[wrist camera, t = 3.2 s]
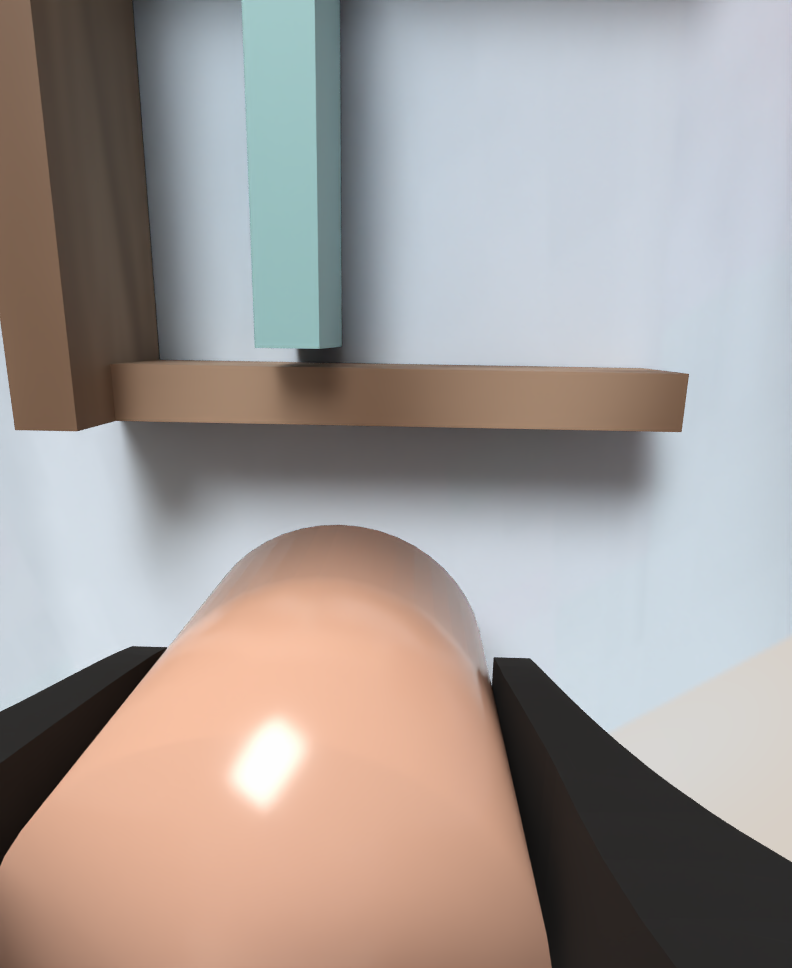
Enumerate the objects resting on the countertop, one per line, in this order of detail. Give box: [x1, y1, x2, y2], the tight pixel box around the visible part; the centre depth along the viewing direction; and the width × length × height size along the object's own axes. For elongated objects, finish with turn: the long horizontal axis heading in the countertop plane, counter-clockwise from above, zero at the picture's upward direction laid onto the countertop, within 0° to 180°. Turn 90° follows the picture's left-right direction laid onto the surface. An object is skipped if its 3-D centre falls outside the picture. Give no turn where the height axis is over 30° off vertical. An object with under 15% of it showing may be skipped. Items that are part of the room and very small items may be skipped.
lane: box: [0, 0, 689, 432], centre depth 12 cm, size 13×12×4 cm
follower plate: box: [242, 0, 342, 349], centre depth 12 cm, size 1×9×4 cm, turn 179°
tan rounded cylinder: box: [0, 525, 552, 968], centre depth 9 cm, size 6×6×6 cm
